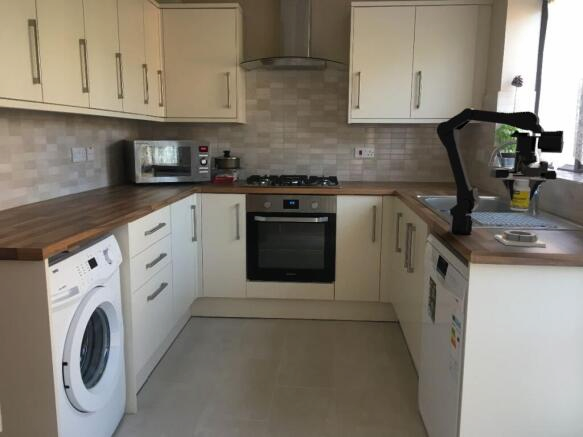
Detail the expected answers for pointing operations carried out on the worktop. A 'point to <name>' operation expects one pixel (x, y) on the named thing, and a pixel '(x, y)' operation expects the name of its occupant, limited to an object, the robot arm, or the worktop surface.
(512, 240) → the socket base
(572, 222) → the worktop surface
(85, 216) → the worktop surface
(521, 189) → the supplement bottle
